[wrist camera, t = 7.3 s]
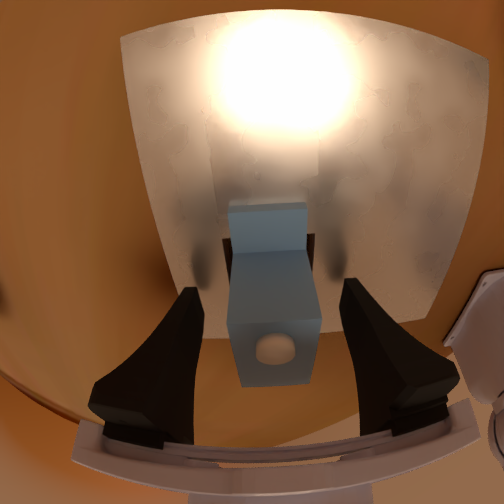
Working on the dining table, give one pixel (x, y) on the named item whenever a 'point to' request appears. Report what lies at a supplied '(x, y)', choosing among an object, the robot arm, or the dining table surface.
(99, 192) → the dining table surface
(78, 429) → the robot arm
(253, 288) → the servo
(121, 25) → the dining table surface
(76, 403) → the dining table surface
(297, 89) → the silver flat plate
